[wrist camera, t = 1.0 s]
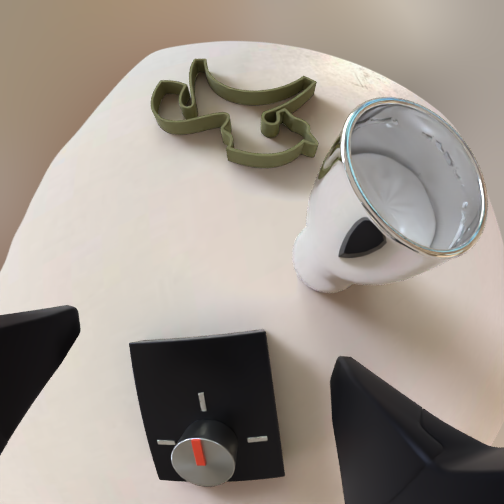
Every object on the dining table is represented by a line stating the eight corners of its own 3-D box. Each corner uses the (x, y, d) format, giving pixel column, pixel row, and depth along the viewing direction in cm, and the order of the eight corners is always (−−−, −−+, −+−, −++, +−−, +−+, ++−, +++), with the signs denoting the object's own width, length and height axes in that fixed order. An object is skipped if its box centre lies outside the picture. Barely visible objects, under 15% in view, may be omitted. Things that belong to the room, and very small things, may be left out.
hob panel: (282, 460, 19) (285, 478, 16) (169, 465, 18) (158, 481, 15) (264, 328, 21) (265, 331, 18) (143, 340, 21) (127, 343, 18)
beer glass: (370, 295, 22) (506, 259, 7) (288, 301, 22) (353, 273, 7) (360, 215, 23) (458, 109, 9) (283, 217, 23) (318, 83, 9)
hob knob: (241, 462, 16) (239, 488, 12) (189, 463, 16) (177, 488, 12) (233, 417, 17) (228, 438, 13) (178, 419, 17) (163, 439, 13)
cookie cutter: (330, 96, 27) (334, 84, 25) (306, 184, 24) (310, 173, 22) (183, 67, 28) (180, 55, 26) (133, 140, 26) (126, 129, 24)
